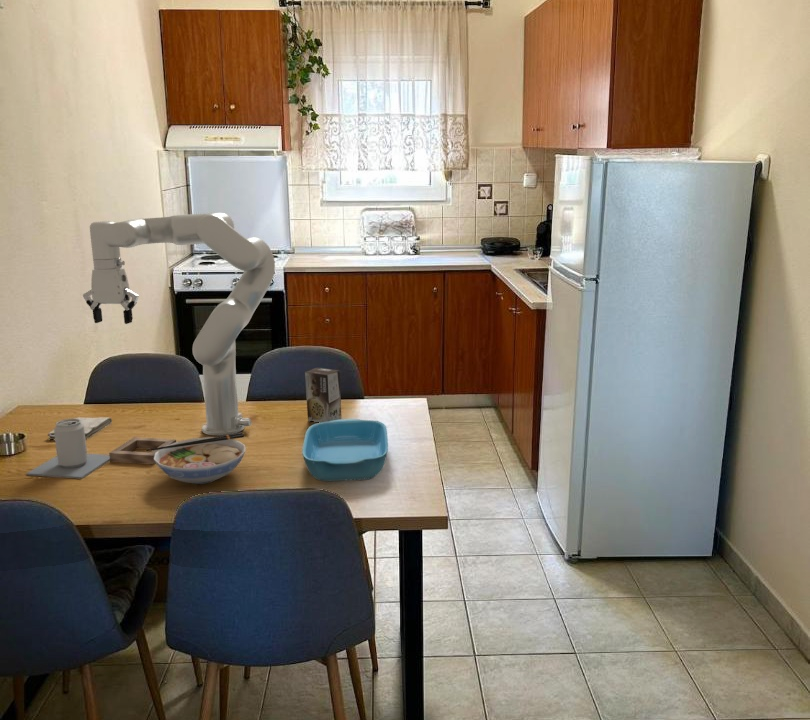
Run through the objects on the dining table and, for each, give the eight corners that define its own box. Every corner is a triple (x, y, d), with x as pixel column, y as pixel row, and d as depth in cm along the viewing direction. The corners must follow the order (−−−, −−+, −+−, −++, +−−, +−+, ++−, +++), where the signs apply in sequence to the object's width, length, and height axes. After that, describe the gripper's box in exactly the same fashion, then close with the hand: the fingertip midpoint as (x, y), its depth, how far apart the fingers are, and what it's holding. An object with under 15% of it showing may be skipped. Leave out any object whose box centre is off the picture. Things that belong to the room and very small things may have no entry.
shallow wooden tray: (176, 447, 227) (175, 439, 227) (154, 464, 215) (153, 455, 214) (134, 445, 230) (134, 437, 229) (110, 461, 217) (109, 452, 217)
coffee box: (342, 420, 250) (340, 370, 246) (329, 425, 245) (327, 374, 241) (319, 415, 255) (317, 366, 251) (306, 421, 249) (304, 371, 246)
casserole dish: (309, 441, 232) (307, 417, 230) (385, 438, 233) (385, 415, 231) (300, 491, 196) (298, 464, 194) (391, 488, 197) (390, 460, 196)
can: (81, 469, 211) (75, 425, 208) (53, 469, 211) (47, 425, 208) (92, 458, 218) (88, 416, 215) (65, 459, 218) (60, 417, 216)
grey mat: (115, 457, 221) (115, 455, 221) (81, 478, 206) (81, 477, 205) (63, 453, 224) (63, 452, 224) (26, 475, 209) (26, 473, 209)
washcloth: (46, 442, 235) (44, 432, 234) (77, 423, 252) (76, 414, 252) (84, 443, 234) (83, 433, 233) (112, 424, 251) (111, 414, 250)
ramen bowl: (157, 504, 189) (154, 471, 187) (146, 471, 210) (143, 442, 208) (261, 486, 199) (259, 455, 197) (241, 457, 219) (239, 428, 217)
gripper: (141, 263, 234) (146, 320, 238) (87, 262, 237) (94, 319, 241) (127, 266, 227) (133, 325, 231) (72, 266, 230) (79, 324, 234)
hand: (113, 322), depth 236 cm, fingers open, 9 cm apart
